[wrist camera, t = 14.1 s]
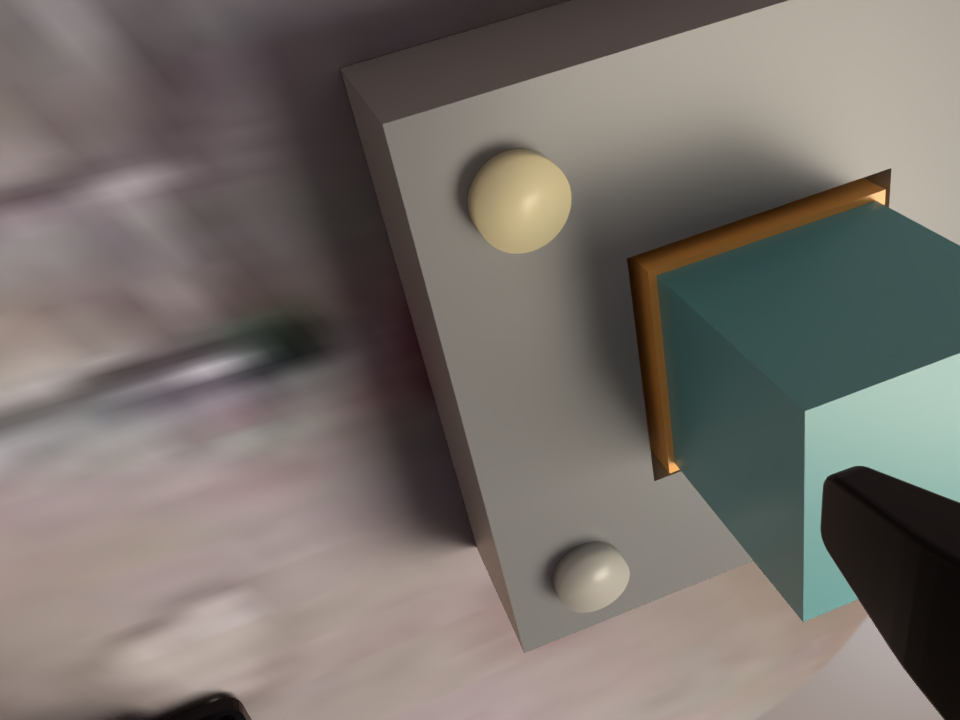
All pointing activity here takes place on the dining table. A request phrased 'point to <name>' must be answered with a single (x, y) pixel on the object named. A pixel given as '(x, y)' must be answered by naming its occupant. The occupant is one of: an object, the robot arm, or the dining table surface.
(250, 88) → the dining table surface
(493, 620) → the dining table surface
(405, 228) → the breaker panel
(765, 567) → the teal cube
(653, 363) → the breaker button
